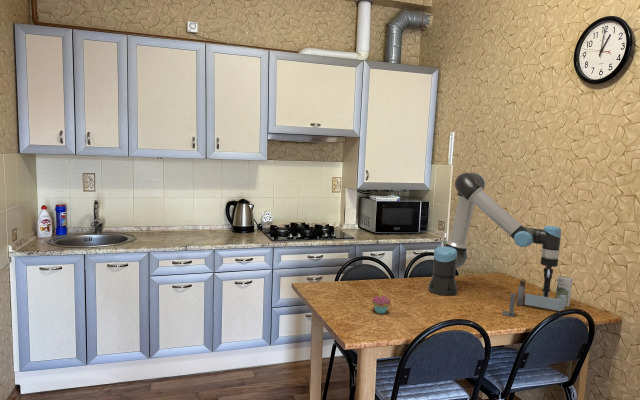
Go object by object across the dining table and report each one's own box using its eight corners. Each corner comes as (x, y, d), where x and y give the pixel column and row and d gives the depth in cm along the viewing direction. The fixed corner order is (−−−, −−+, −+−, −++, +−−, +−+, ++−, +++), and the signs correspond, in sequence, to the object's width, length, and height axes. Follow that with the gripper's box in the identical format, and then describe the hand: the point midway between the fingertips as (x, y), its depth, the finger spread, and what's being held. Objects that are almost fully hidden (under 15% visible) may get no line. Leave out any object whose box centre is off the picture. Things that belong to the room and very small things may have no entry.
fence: (517, 303, 217) (519, 285, 216) (518, 296, 228) (520, 279, 227) (523, 304, 216) (524, 286, 215) (524, 297, 227) (525, 280, 226)
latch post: (502, 314, 199) (504, 293, 198) (503, 311, 203) (504, 291, 202) (513, 317, 196) (515, 296, 195) (514, 313, 201) (516, 293, 200)
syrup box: (569, 305, 217) (573, 277, 216) (567, 308, 213) (570, 279, 211) (557, 302, 221) (560, 275, 220) (554, 304, 217) (557, 277, 215)
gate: (516, 304, 213) (518, 287, 213) (516, 302, 216) (518, 285, 215) (563, 313, 204) (565, 294, 203) (563, 311, 207) (565, 293, 206)
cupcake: (385, 316, 189) (387, 290, 188) (367, 312, 194) (369, 286, 193) (392, 311, 197) (394, 285, 195) (375, 306, 201) (377, 282, 200)
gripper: (541, 253, 219) (536, 298, 221) (541, 258, 207) (536, 305, 209) (557, 256, 215) (553, 301, 218) (558, 261, 204) (553, 309, 206)
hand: (544, 303), depth 214 cm, fingers closed
